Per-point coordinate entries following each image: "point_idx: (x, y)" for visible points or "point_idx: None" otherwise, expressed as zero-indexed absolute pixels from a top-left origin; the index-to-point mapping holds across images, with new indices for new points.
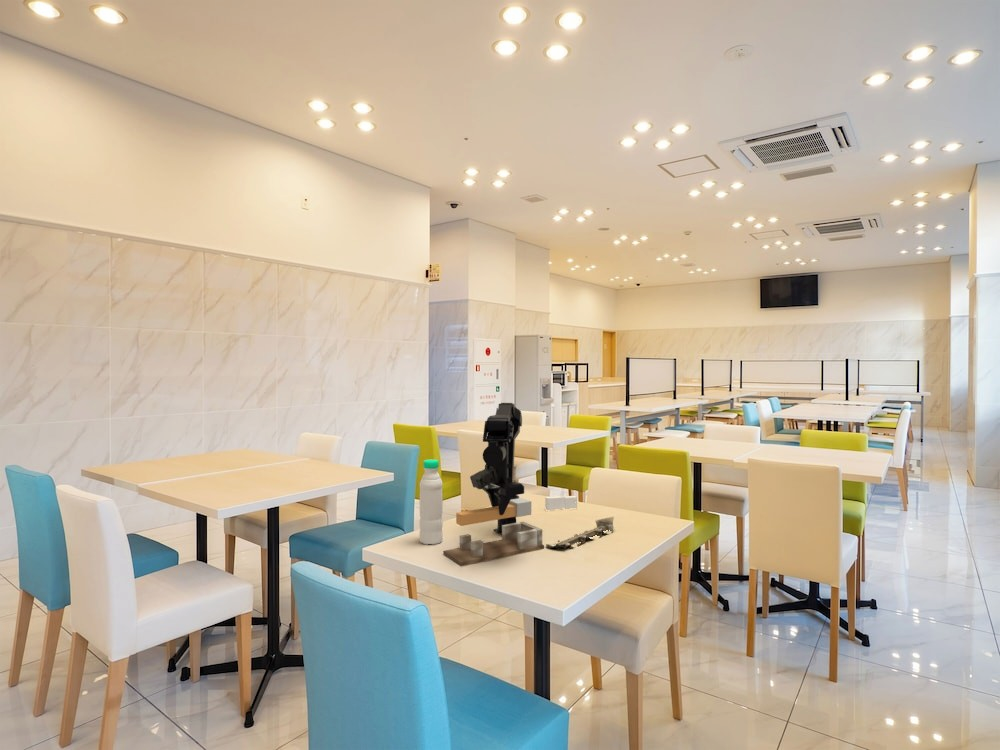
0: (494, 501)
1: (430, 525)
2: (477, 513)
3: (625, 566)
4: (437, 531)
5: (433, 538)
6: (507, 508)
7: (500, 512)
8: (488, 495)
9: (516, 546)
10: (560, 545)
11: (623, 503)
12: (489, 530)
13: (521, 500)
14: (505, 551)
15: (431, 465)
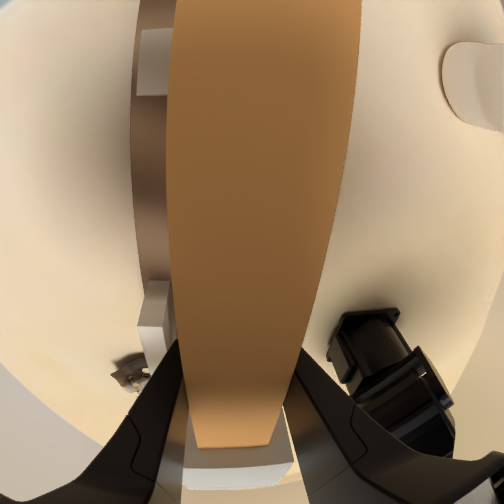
0: (308, 422)
1: (500, 52)
2: (170, 67)
3: (12, 374)
4: (475, 78)
5: (456, 58)
6: (192, 416)
7: (165, 355)
8: (394, 443)
9: None
10: (142, 378)
11: (302, 477)
12: (410, 300)
13: (230, 482)
14: (152, 217)
15: None
